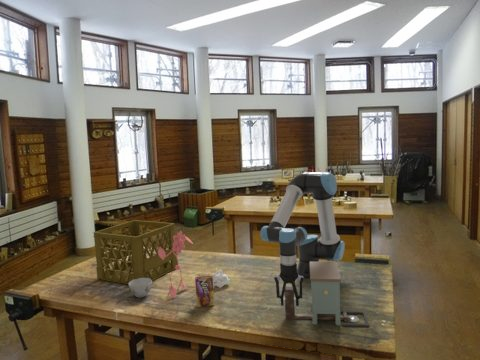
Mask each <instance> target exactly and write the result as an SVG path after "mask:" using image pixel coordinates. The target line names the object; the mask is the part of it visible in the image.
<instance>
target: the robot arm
mask: <svg viewBox="0 0 480 360" xmlns="http://www.w3.org/2000/svg"><path fill="white" fill-rule="evenodd" d="M337 190H338V183H337V179H336V176H335V175H334V174H333V173H332V172H326V171H322V172H321V171H317V172H315V171H314V172H313V171H311V172H310V171H305V172H301V173H299V174H297V175H295V176H294V177H293V178H292V179H291V180H290V181H289V183H288V184H287V185H286V188H285V193H284V195H283V197H282V199H281V201H280V203H279V205H278V207H277V209H276V211H275V212H274V215H273V217H272V218H271V221H270V222H269V224H268V225H263V226H262V227H261V229H260V233H259V234H260V238H261V240H262V241H264V242H269V243H278V244H279V246H278V247H279V263H280V264H279V266H280V268H279V270H280V272H279V275H274V279H273V280H274V282H275V291H276V298H277V299H280V305H281V306H283V314H286V312H285V287H287V284H291V287H293V289H294V308H295V314H297V307H299V304H300V302H299V301H300V299H303V281H304V279H310V261H313V262H320V260H325V261H326V260H327V261H332V262H340V261H341V260H342V258H343V257H344V254H345V246H346V244H345V240H344V241H343V240H341V236H340V235H339V234H338V233H337V226H336V220H335V212H334V206H333V205H334V204H333V198H334V197H335V194H336V193H337ZM304 194H311V195H312V199H313V200H314V201H315V203H316V208H317V209H316V210H317V215H318V222H319V229H320V235H321V236H320V237H319V235H317V234H308V232H307V230H306V228H304V227H301V226H298V227H295V228H289V227H286V225H287V223H288V221H289V220H290V217H291V215H292V213H293V211H294V209H295V207H296V205H297V203H298V201H299V199H300V198H302V197H303V195H304ZM297 247H298V257H297ZM297 258H298V259H297ZM297 260H299V261H298V264H297ZM280 279H281V280H282V281H283V284H282V288H281V292H280ZM297 279H298V281H299V293H298V289H297V284H296V281H297ZM280 293H281V294H280Z"/></svg>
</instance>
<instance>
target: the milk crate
mask: <svg viewBox="0 0 480 360" xmlns="http://www.w3.org/2000/svg"><path fill="white" fill-rule="evenodd" d="M175 224H176V223H173V222H162V221H150V220H138V219H133V220H130V221H127V222H123V223H120V224H115V225H113V226H110V227H106V228H104V229H100V230H97V231H93V238H94V250H95V258H96V259H95V260H96V278H97V279H98V280H101V281H102V280H103V281H108V282H113V283H119V284H124V285H128V286H129V282H130V281H132V280H135V279H139V278H149V279H151V280H152V282H153V281H154V280H156V279H159V278H160V277H162V276H163V275H165V274H168V273H170V272H171V271H172V272H173V271H175V270H176V269H175V266H176V265H179V263H178V264H177V258H178V255H176V256H177V258H176V256H175V254H176V251H174V253H175V254H174V253H173V252H172V253H170V252H171V251H172V248H173V243H174V240H173V236H175V235H176V231H175V230H176V226H175ZM142 226H144V229H143V228H142ZM127 227H128V228H127ZM149 227H158V228H156V229H153V230H151V229H149ZM125 228H127V231H126V229H125ZM119 230H121V233H118V234H115V233H112V232H114V231H119ZM146 231H147V232H146ZM145 232H146V233H145ZM123 233H124V234H123ZM153 236H154V237H156V238H155V239H154V237H153ZM144 240H145V241H144ZM115 241H118V243H116V242H115ZM128 242H129V243H128ZM114 247H115V248H114ZM159 247H161V248H162V249H163V250H164V251H165V255H168V254H169V253H170V254H169V255H168V256H167V257H165V259H164V260H162V259H161V258H160V257H159V255H158V249H159ZM167 247H168V249H167ZM107 250H108V251H107ZM154 252H155V253H154Z"/></svg>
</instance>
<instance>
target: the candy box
mask: <svg viewBox="0 0 480 360" xmlns="http://www.w3.org/2000/svg"><path fill="white" fill-rule="evenodd" d="M212 276H213V274H212V273H208V274H198V275H197V274H196V275H195V278H194V279H195V280H194V281H195V282H194V283H195V293H196V294H195V296H196V307H197V308H202V307H210V306H215V294H214V292H215V290H214V288H213V277H212Z"/></svg>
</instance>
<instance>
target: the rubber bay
mask: <svg viewBox="0 0 480 360" xmlns="http://www.w3.org/2000/svg"><path fill="white" fill-rule="evenodd" d="M343 312H347V315H349V314H351V315H355V314H356V315H362V317H363V319H364V322H365V323H355V322H350V323H349V322H344V323H342V327H360V328H361V327H362V328H363V327H364V328H365V327H366V328H367V327H368V328H369V327H370V324H369V321H368V318H367V314H366V311H363V310H362V311H359V310H354V311H353V310H340V314H343Z"/></svg>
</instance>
